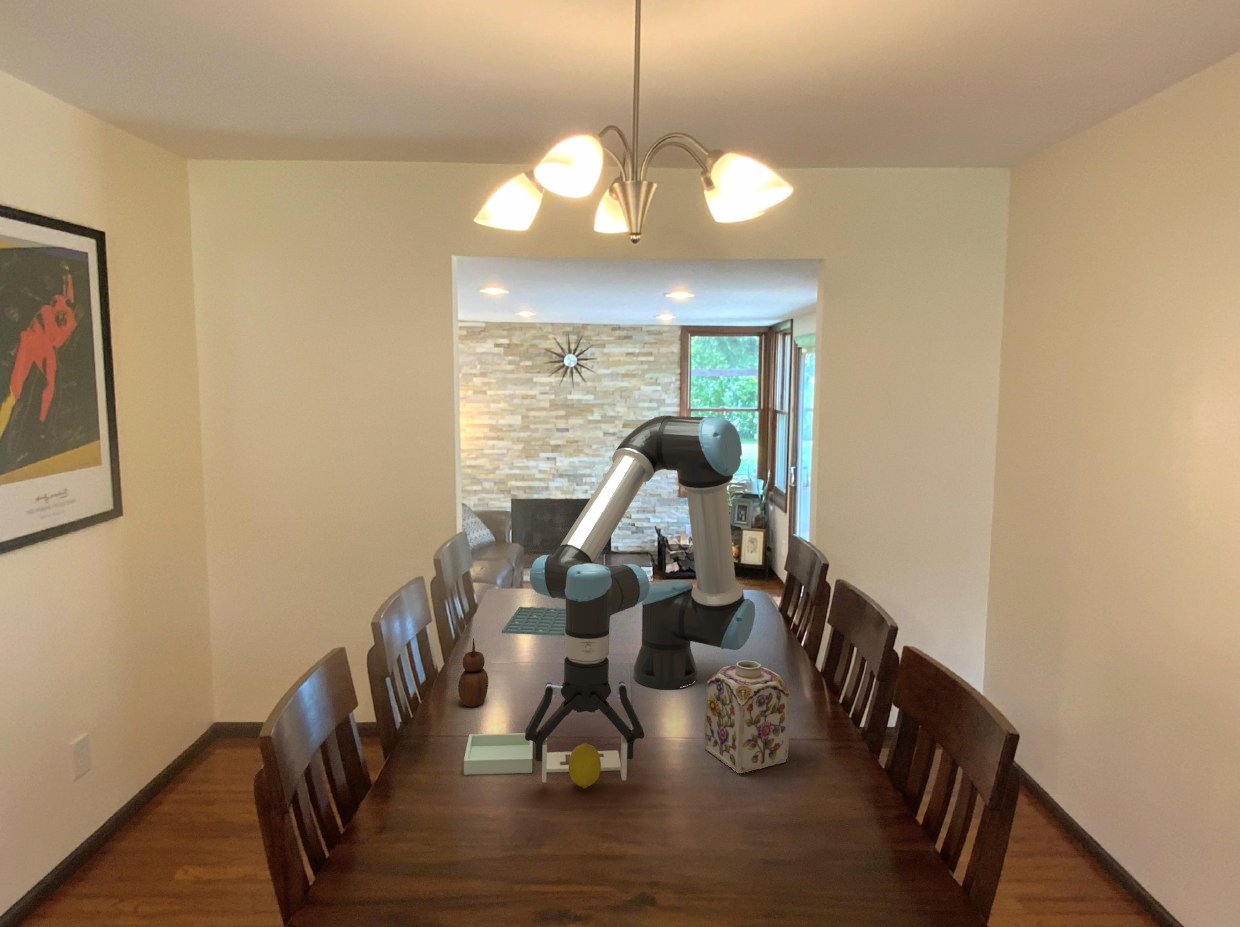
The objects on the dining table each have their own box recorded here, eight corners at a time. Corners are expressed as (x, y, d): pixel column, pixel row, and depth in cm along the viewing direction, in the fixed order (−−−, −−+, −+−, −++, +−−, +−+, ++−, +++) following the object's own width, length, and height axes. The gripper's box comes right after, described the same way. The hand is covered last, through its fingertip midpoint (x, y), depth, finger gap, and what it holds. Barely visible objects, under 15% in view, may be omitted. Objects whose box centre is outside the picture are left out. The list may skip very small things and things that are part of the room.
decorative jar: (737, 776, 138) (741, 679, 137) (701, 749, 149) (704, 658, 147) (790, 763, 144) (794, 669, 142) (752, 737, 154) (755, 649, 152)
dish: (532, 745, 148) (532, 732, 148) (532, 772, 138) (532, 758, 138) (469, 747, 147) (469, 734, 147) (463, 774, 137) (463, 760, 137)
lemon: (567, 780, 136) (568, 736, 135) (599, 779, 136) (600, 735, 135) (568, 796, 130) (569, 751, 129) (601, 796, 131) (602, 750, 130)
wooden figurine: (480, 711, 164) (480, 642, 162) (454, 708, 165) (454, 639, 163) (491, 698, 170) (492, 632, 169) (467, 696, 171) (467, 630, 170)
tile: (617, 753, 146) (617, 749, 146) (621, 770, 140) (621, 766, 140) (543, 755, 145) (543, 751, 144) (543, 772, 138) (543, 768, 138)
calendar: (521, 608, 243) (521, 600, 243) (612, 611, 241) (612, 604, 240) (501, 635, 216) (501, 627, 216) (603, 640, 214) (603, 631, 213)
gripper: (511, 665, 126) (509, 790, 128) (663, 663, 128) (659, 786, 130) (513, 650, 133) (511, 768, 135) (656, 648, 136) (652, 765, 138)
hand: (583, 777), depth 133 cm, fingers open, 13 cm apart
